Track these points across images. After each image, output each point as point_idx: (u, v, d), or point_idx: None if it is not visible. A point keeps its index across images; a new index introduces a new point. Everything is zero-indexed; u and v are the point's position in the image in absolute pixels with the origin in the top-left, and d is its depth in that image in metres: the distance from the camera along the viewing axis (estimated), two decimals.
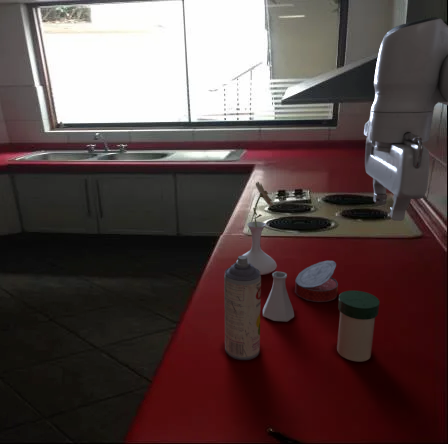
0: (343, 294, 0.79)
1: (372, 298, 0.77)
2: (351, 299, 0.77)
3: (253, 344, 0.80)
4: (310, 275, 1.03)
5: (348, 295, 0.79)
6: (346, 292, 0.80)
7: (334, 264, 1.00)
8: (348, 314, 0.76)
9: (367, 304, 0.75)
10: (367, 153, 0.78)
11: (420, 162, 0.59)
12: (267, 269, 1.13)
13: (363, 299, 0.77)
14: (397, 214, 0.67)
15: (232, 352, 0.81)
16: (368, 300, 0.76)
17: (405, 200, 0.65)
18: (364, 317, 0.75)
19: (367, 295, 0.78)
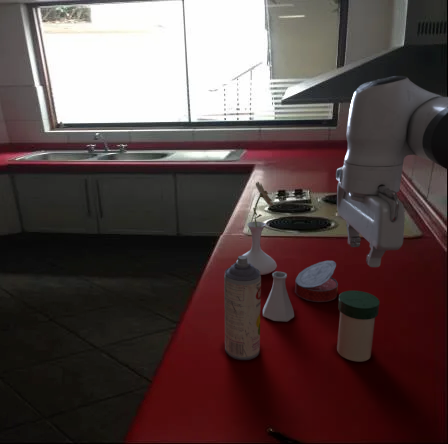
0: (343, 294, 0.79)
1: (372, 298, 0.77)
2: (351, 299, 0.77)
3: (253, 344, 0.80)
4: (310, 275, 1.03)
5: (348, 295, 0.79)
6: (346, 292, 0.80)
7: (334, 264, 1.00)
8: (348, 314, 0.76)
9: (367, 304, 0.75)
10: (339, 196, 0.80)
11: (396, 217, 0.62)
12: (267, 269, 1.13)
13: (363, 299, 0.77)
14: (374, 261, 0.69)
15: (232, 352, 0.81)
16: (368, 300, 0.76)
17: None
18: (364, 317, 0.75)
19: (367, 295, 0.78)
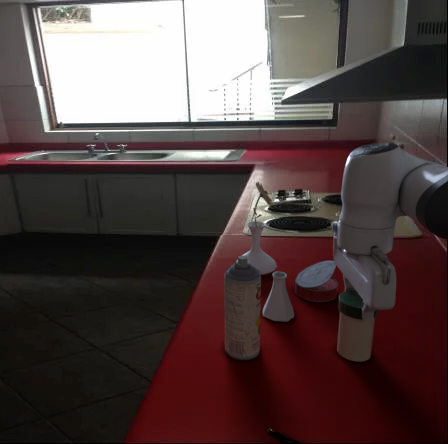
0: (343, 294, 0.79)
1: None
2: (351, 299, 0.77)
3: (253, 344, 0.80)
4: (310, 275, 1.03)
5: (348, 295, 0.79)
6: (346, 292, 0.80)
7: (334, 264, 1.00)
8: (348, 314, 0.76)
9: None
10: (335, 247, 0.83)
11: (388, 281, 0.65)
12: (267, 269, 1.13)
13: (362, 299, 0.77)
14: (367, 315, 0.73)
15: (232, 352, 0.81)
16: None
17: None
18: None
19: None
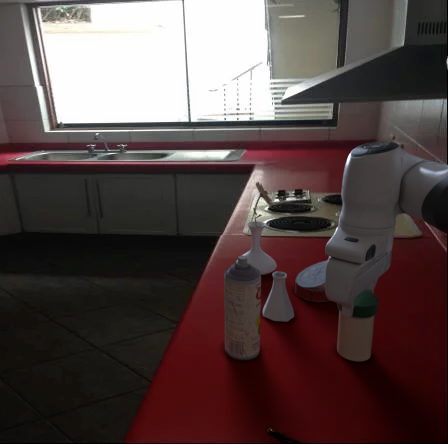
0: (366, 304, 0.74)
1: None
2: (366, 299, 0.76)
3: (253, 344, 0.80)
4: (310, 275, 1.03)
5: (362, 302, 0.75)
6: (359, 305, 0.74)
7: None
8: None
9: None
10: None
11: None
12: (267, 269, 1.13)
13: None
14: None
15: (232, 352, 0.81)
16: None
17: None
18: None
19: None
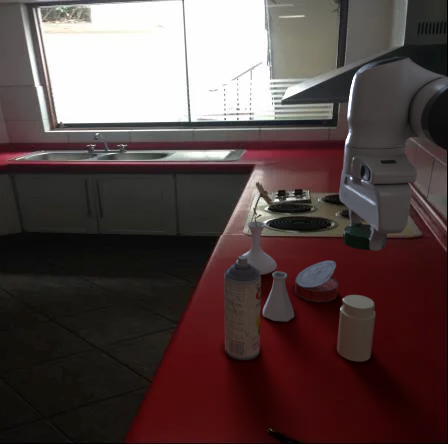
0: None
1: (350, 231, 0.73)
2: None
3: (253, 344, 0.80)
4: (310, 275, 1.03)
5: None
6: None
7: (334, 264, 1.00)
8: None
9: (356, 226, 0.75)
10: None
11: None
12: (267, 269, 1.13)
13: (360, 230, 0.73)
14: None
15: (232, 352, 0.81)
16: (355, 229, 0.74)
17: None
18: None
19: (355, 233, 0.72)
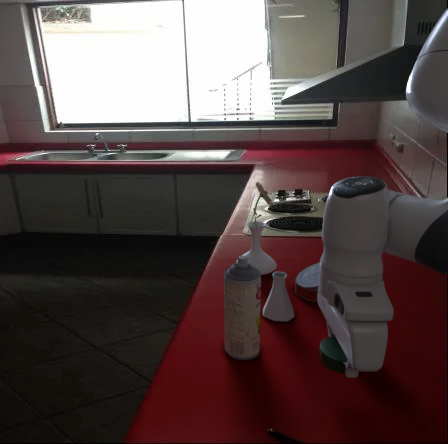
0: None
1: (326, 349, 0.68)
2: None
3: (253, 344, 0.80)
4: (310, 275, 1.03)
5: None
6: None
7: None
8: None
9: (333, 341, 0.70)
10: None
11: None
12: (267, 269, 1.13)
13: (337, 348, 0.69)
14: None
15: (232, 352, 0.81)
16: (331, 346, 0.69)
17: None
18: None
19: (331, 353, 0.67)
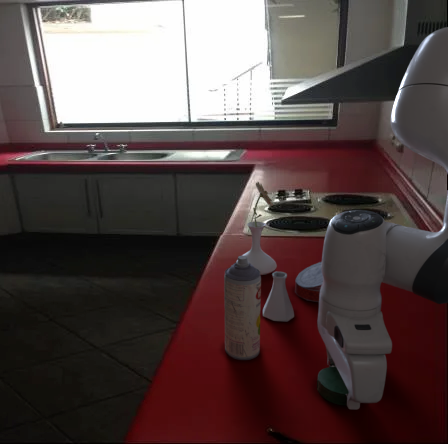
0: None
1: (324, 380, 0.70)
2: None
3: (253, 344, 0.80)
4: (310, 275, 1.03)
5: None
6: None
7: None
8: None
9: (331, 371, 0.72)
10: None
11: None
12: (267, 269, 1.13)
13: (335, 379, 0.70)
14: None
15: (232, 352, 0.81)
16: (329, 377, 0.71)
17: None
18: None
19: (329, 384, 0.69)
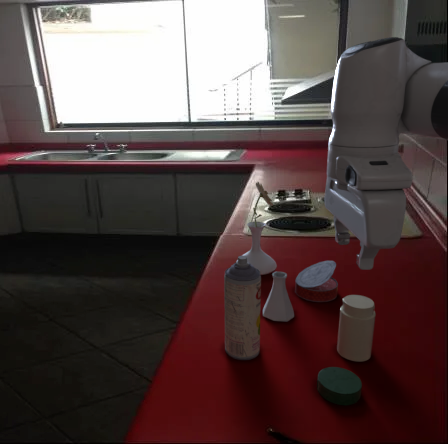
0: (356, 387, 0.68)
1: (324, 380, 0.70)
2: (347, 379, 0.70)
3: (253, 344, 0.80)
4: (310, 275, 1.03)
5: (351, 385, 0.69)
6: (353, 390, 0.68)
7: (334, 264, 1.00)
8: None
9: (331, 371, 0.72)
10: None
11: None
12: (267, 269, 1.13)
13: (335, 379, 0.70)
14: None
15: (232, 352, 0.81)
16: (329, 377, 0.71)
17: None
18: None
19: (329, 384, 0.69)
